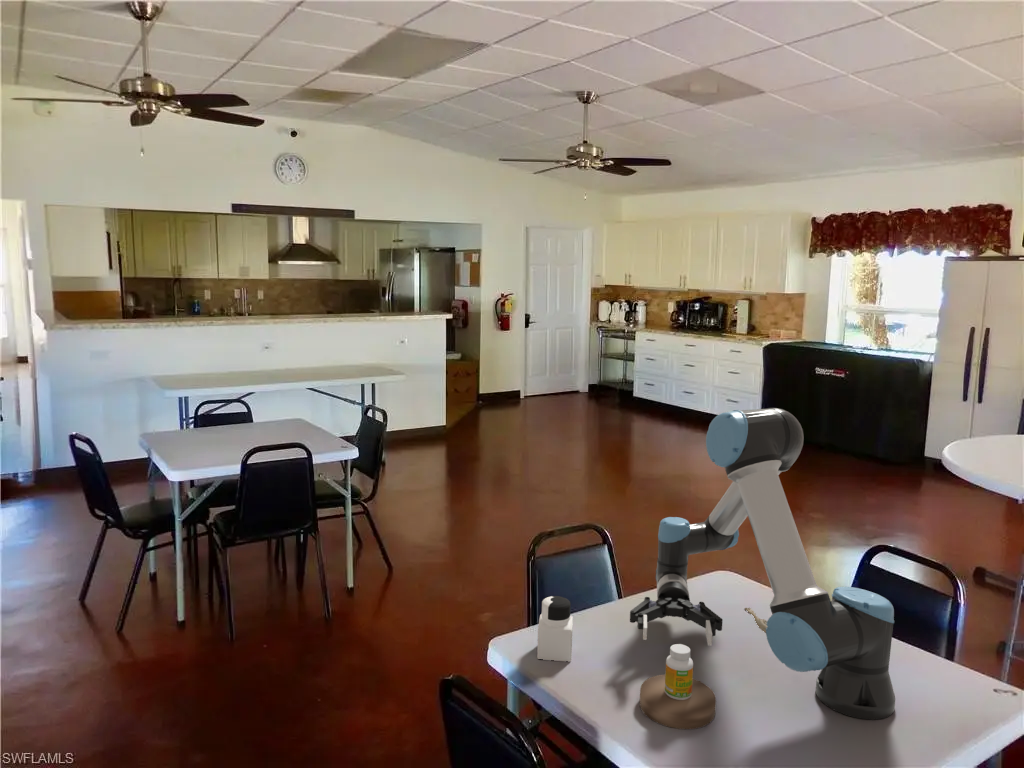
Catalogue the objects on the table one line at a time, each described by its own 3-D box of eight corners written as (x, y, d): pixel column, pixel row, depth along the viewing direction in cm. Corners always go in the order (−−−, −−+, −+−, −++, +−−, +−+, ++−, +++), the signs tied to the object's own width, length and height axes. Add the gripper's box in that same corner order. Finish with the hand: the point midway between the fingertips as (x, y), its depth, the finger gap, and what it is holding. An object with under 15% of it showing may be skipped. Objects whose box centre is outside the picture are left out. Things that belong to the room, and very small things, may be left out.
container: (572, 646, 180) (573, 593, 179) (571, 662, 173) (573, 608, 171) (539, 643, 181) (540, 591, 179) (537, 660, 174) (538, 606, 172)
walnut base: (730, 713, 154) (731, 699, 154) (679, 738, 145) (680, 723, 145) (674, 680, 166) (675, 667, 166) (624, 701, 157) (624, 688, 157)
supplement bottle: (674, 703, 152) (676, 657, 150) (659, 689, 157) (661, 644, 155) (697, 697, 154) (699, 652, 153) (681, 684, 159) (683, 640, 157)
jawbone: (794, 653, 181) (794, 645, 181) (724, 621, 198) (724, 614, 197) (816, 640, 186) (816, 632, 186) (746, 610, 203) (746, 603, 202)
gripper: (725, 615, 183) (736, 658, 162) (620, 605, 187) (617, 647, 166) (727, 585, 182) (738, 625, 161) (621, 576, 186) (619, 614, 165)
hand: (677, 636), depth 164 cm, fingers open, 13 cm apart
